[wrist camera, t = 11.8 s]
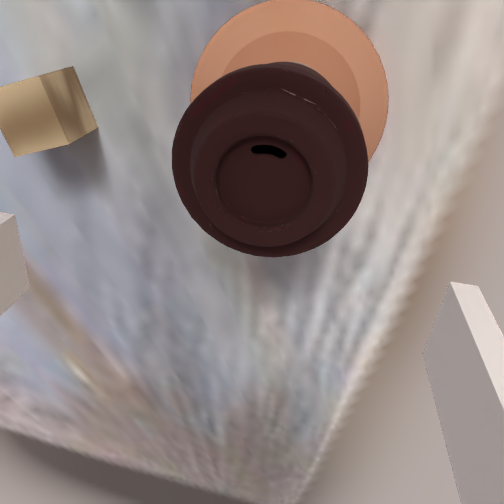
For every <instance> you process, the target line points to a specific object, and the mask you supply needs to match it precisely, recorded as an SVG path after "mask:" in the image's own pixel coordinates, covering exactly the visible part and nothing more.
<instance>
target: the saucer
mask: <svg viewBox="0 0 504 504" xmlns="http://www.w3.org/2000/svg"><path fill="white" fill-rule="evenodd" d="M284 61H292V62H299V63H302V64H305V65H307V66H310V67H311V68H313V69H314V70H316V71H317V72H318V73H320V74H321V75H322V76H323V77H324V78H325V79H326V80H327V81H328V82H329V83H330V84H331V85H332V87H334V88H335V89H336V90H337V91H338V92H339V93H340V94H341V95H342V96H343V97H344V99H345V100H346V101H347V102H348V104H349V105H350V107H351V108H352V110H353V111H354V113H355V115H356V117H357V119H358V121H359V123H360V126H361V129H362V132H363V135H364V139H365V143H366V147H367V154H368V161H369V160H370V158H371V156H372V155H373V153H374V152H375V150H376V148H377V146H378V144H379V142H380V139H381V137H382V134H383V131H384V127H385V124H386V119H387V113H388V87H387V80H386V76H385V71H384V68H383V65H382V63H381V60H380V57H379V55H378V53H377V52H376V50H375V48H374V46H373V44H372V43H371V41H370V40H369V39H368V37H367V36H366V35H365V33H364V32H363V31H362V30H361V29H360V28H359V27H358V26H357V25H356V24H355V23H354V22H353V21H352V20H350V19H349V18H348V17H346V16H345V15H344V14H342V13H341V12H339V11H337V10H335V9H333V8H331V7H330V6H327V5H324V4H321V3H318V2H316V1H311V0H271V1H267V2H263V3H260V4H257V5H254V6H252V7H250V8H248V9H245V10H244V11H242V12H240V13H239V14H237V15H236V16H234V17H232V18H231V19H230V20H229V21H228V22H227V23H225V24H224V25H223V26H222V27H221V28H220V29H219V30H218V31H217V32H216V34H215V35H214V36H213V37H212V38H211V40H210V41H209V43H208V44H207V46H206V47H205V49H204V51H203V53H202V55H201V57H200V59H199V61H198V64H197V67H196V70H195V72H194V77H193V81H192V86H191V99H190V101H191V103H192V102H193V100H194V99H195V98H196V97H197V96H198V95H199V94H200V93H201V92H202V91H203V90H204V89H206V88H207V87H208V86H209V85H211V84H212V83H213V82H215V81H216V80H218V79H219V78H221V77H222V76H224V75H226V74H228V73H230V72H232V71H235V70H237V69H240V68H244V67H247V66H251V65H258V64H268V63H273V62H284Z"/></svg>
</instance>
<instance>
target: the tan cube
mask: <svg viewBox="0 0 504 504" xmlns="http://www.w3.org/2000/svg"><path fill="white" fill-rule="evenodd" d="M97 128H98V126H97V123H96V121H95V119H94V116H93V114H92V111H91V109H90V106H89V104H88V101H87V99H86V96H85V94H84V92H83V89H82V87H81V84H80V82H79V79H78V77H77V74H76V72H75V70H74V67H73V66H72V67H68V68H65V69H61V70H58V71H54V72H51V73H47V74H43V75H40V76H36V77H33V78H29V79H26V80H22V81H19V82H15V83H12V84H8V85H5V86H1V87H0V129H1V131H2V133H3V135H4V137H5V139H6V141H7V143H8V145H9V147H10V149H11V151H12V153H13V155H14V157H17V156H21V155H25V154H30V153H34V152H38V151H43V150H47V149H51V148H55V147H60V146H64V145H68V144H70V143H72V142H74V141H76V140H77V139H79V138H81V137H83V136H84V135H86V134H88V133H90V132H91V131H93V130H95V129H97Z"/></svg>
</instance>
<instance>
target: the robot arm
mask: <svg viewBox="0 0 504 504" xmlns="http://www.w3.org/2000/svg"><path fill="white" fill-rule="evenodd" d="M29 288H30V285H29V280H28V276H27V271H26V266H25V261H24V256H23V252H22V247H21V242H20V237H19V232H18V228H17V223H16V218H15V214H8V213H2V212H0V316H1V315H2V314H3V313H4V312H5V311H6V310H7V309H8V308H9V307H10V306H11V305H12V304H13V303H14V302H15V301H16V300H17V299H18V298H19V297H21V296H22V295H23V294H24V293H25V292H26V291H27V290H28V289H29ZM422 354H423V357H424V361H425V365H426V369H427V373H428V376H429V381H430V384H431V388H432V392H433V396H434V400H435V404H436V408H437V412H438V416H439V420H440V424H441V427H442V431H443V435H444V439H445V443H446V447H447V451H448V455H449V458H450V462H451V466H452V470H453V474H454V478H455V482H456V486H457V489H458V493H459V497H460V501H461V504H504V336H503V334H502V332H501V330H500V329H499V327H498V325H497V323H496V321H495V319H494V317H493V315H492V313H491V311H490V309H489V307H488V305H487V303H486V301H485V299H484V297H483V295H482V293H481V291H480V289H479V287H478V286H475V285H469V284H462V283H456V282H450V283H449V286H448V288H447V291H446V294H445V297H444V299H443V301H442V304H441V307H440V309H439V312H438V314H437V317H436V319H435V322H434V325H433V327H432V330H431V332H430V335H429V338H428V340H427V343H426V345H425V348H424V350H423V353H422Z"/></svg>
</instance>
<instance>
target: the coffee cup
mask: <svg viewBox="0 0 504 504" xmlns="http://www.w3.org/2000/svg"><path fill="white" fill-rule="evenodd" d="M172 170H173V176H174V181H175V185H176V188H177V190H178V193H179V196H180V198H181V200H182V202H183V204H184V206H185V207H186V209H187V210H188V212H189V214H190V215H191V217H192V218H193V219H194V220H195V221H196V222H197V223H198V225H199V226H200V227H201V228H202V229H203V230H204V231H205V232H206V233H208V234H209V235H210V236H212V237H213V238H215V239H216V240H217V241H219V242H221V243H222V244H224V245H226V246H227V247H230V248H232V249H235V250H238V251H240V252H243V253H247V254H251V255H255V256H264V257H282V256H291V255H296V254H300V253H303V252H306V251H308V250H311V249H314V248H316V247H318V246H320V245H321V244H323V243H325V242H327V241H328V240H330V239H331V238H332V237H333V236H334V235H336V234H337V233H338V232H339V231H340V230H341V229H342V228H343V227H344V226H345V225H346V224H347V223H348V221H349V220H350V219H351V218H352V216H353V215H354V213H355V211H356V210H357V208H358V205H359V203H360V201H361V199H362V196H363V193H364V190H365V187H366V182H367V176H368V154H367V147H366V143H365V139H364V135H363V132H362V129H361V126H360V123H359V121H358V119H357V117H356V115H355V113H354V111H353V110H352V108H351V107H350V105H349V104H348V102H347V101H346V100H345V99H344V97H343V96H342V95H341V94H340V93H339V92H338V91H337V90H336V89H335V88H334V87H332V85H331V84H330V83H329V82H328V81H327V80H326V79H325V78H324V77H323V76H322V75H321V74H320V73H318V72H317V71H316V70H314V69H313V68H311V67H310V66H307V65H305V64H302V63H299V62H292V61H284V62H273V63H268V64H258V65H251V66H247V67H244V68H240V69H237V70H235V71H232V72H230V73H228V74H226V75H224V76H222V77H221V78H219V79H218V80H216V81H215V82H213V83H212V84H211V85H209V86H208V87H207V88H206V89H204V90H203V91H202V92H201V93H200V94H199V95H198V96H197V97H196V98H195V99H194V100H193V102H192V103H191V104H190V105H189V107H188V108H187V110H186V111H185V113H184V115H183V117H182V119H181V120H180V122H179V125H178V128H177V130H176V134H175V137H174V141H173V148H172Z"/></svg>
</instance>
